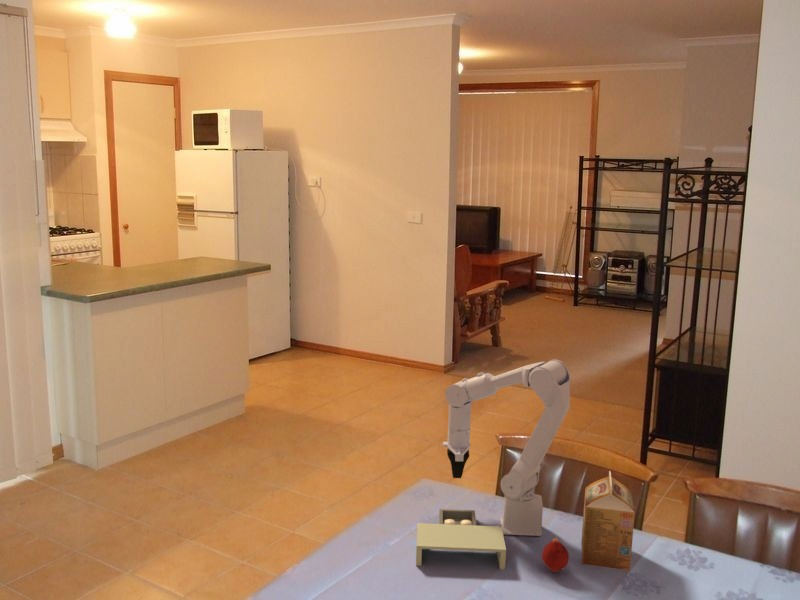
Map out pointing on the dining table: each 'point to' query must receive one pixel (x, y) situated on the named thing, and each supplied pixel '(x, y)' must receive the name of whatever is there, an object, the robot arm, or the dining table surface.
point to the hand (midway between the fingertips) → (457, 477)
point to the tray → (457, 517)
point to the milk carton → (607, 525)
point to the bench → (461, 539)
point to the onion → (555, 556)
